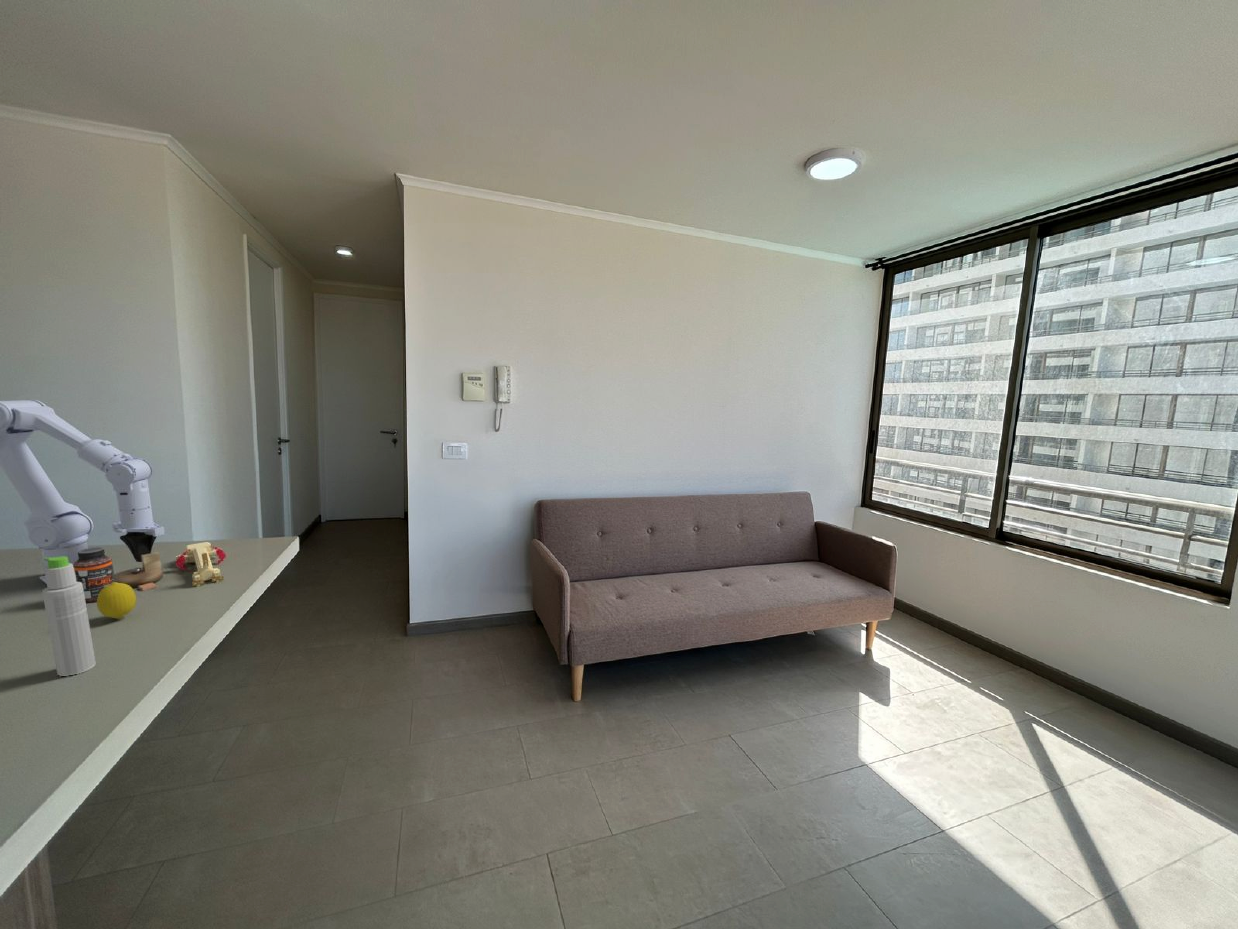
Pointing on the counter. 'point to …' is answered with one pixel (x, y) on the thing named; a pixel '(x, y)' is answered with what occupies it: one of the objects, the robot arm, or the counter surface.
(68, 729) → the counter surface
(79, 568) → the supplement bottle
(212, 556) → the toy vehicle
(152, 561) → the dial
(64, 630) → the bottle
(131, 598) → the lemon
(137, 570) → the pivot pin
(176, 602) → the counter surface
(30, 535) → the robot arm
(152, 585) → the salmon square tile
